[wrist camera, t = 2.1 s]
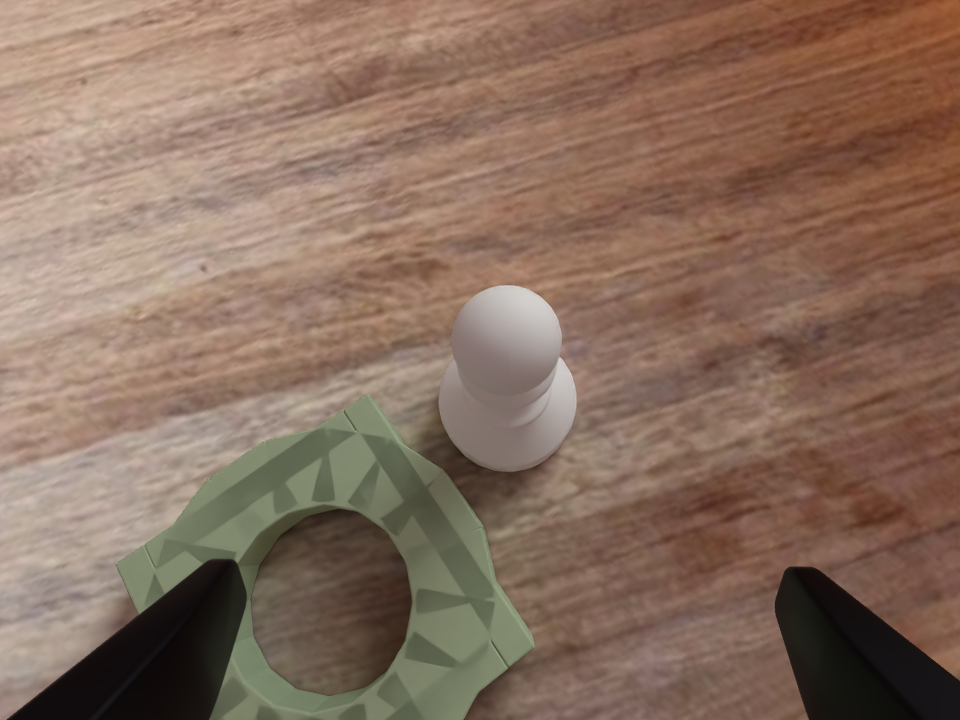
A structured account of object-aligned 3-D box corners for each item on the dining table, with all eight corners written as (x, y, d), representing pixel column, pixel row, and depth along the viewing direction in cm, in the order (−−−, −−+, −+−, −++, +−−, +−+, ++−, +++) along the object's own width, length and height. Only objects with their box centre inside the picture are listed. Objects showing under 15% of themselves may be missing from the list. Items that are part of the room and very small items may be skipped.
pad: (272, 872, 17) (243, 913, 16) (126, 556, 21) (87, 558, 19) (562, 641, 19) (568, 653, 17) (385, 381, 22) (373, 366, 20)
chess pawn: (439, 352, 22) (396, 236, 14) (564, 340, 22) (598, 217, 14) (446, 478, 21) (402, 437, 12) (581, 467, 21) (631, 417, 12)
